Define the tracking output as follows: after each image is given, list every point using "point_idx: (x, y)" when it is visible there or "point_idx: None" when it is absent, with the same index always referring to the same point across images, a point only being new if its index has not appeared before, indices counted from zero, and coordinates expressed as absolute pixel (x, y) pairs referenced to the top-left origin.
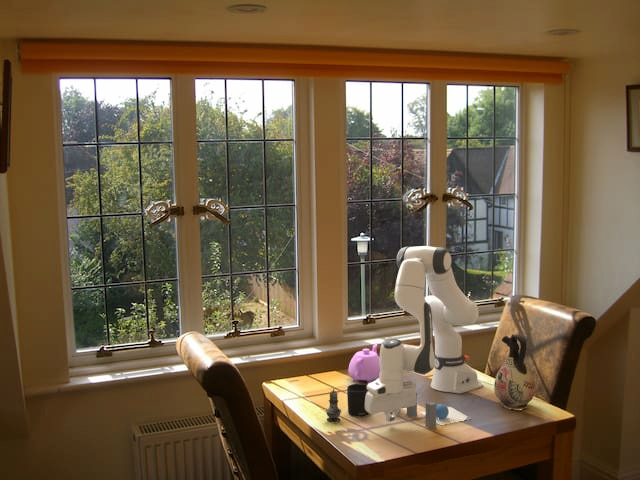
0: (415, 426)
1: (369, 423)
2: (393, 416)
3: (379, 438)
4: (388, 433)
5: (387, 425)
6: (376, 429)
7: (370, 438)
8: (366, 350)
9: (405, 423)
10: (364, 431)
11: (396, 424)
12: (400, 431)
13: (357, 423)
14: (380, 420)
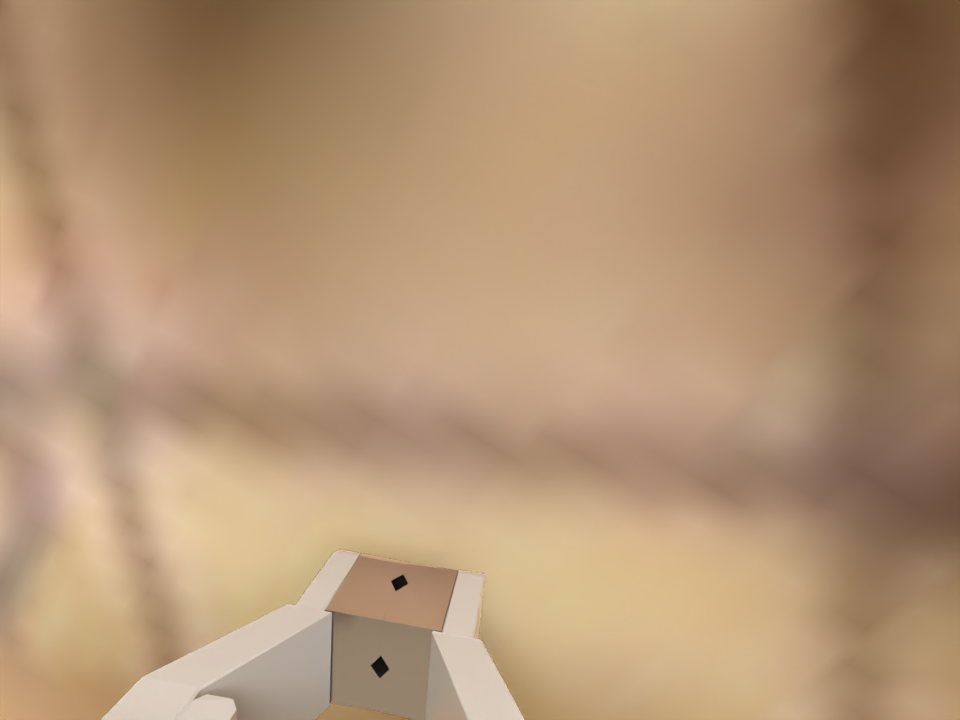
0: (761, 711)
1: (218, 251)
2: (423, 702)
3: None
4: None
5: (421, 463)
6: (211, 486)
7: (38, 641)
8: None
9: (716, 555)
10: (45, 451)
11: (564, 507)
12: None
13: (53, 151)
14: (439, 236)
